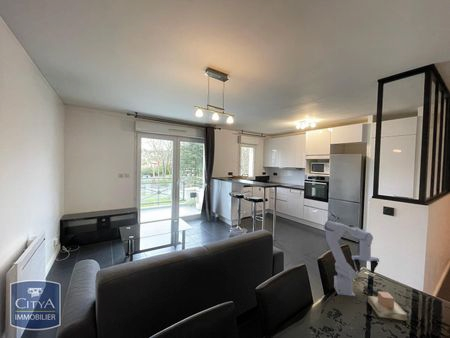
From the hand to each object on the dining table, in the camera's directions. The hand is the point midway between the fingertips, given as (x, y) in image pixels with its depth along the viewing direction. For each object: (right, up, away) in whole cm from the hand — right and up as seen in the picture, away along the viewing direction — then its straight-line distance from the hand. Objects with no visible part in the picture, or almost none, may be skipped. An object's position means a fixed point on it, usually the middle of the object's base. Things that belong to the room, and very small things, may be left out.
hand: (365, 271), depth 124 cm
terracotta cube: (-4, -6, -20) cm, 22 cm away
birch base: (-4, -9, -21) cm, 23 cm away
